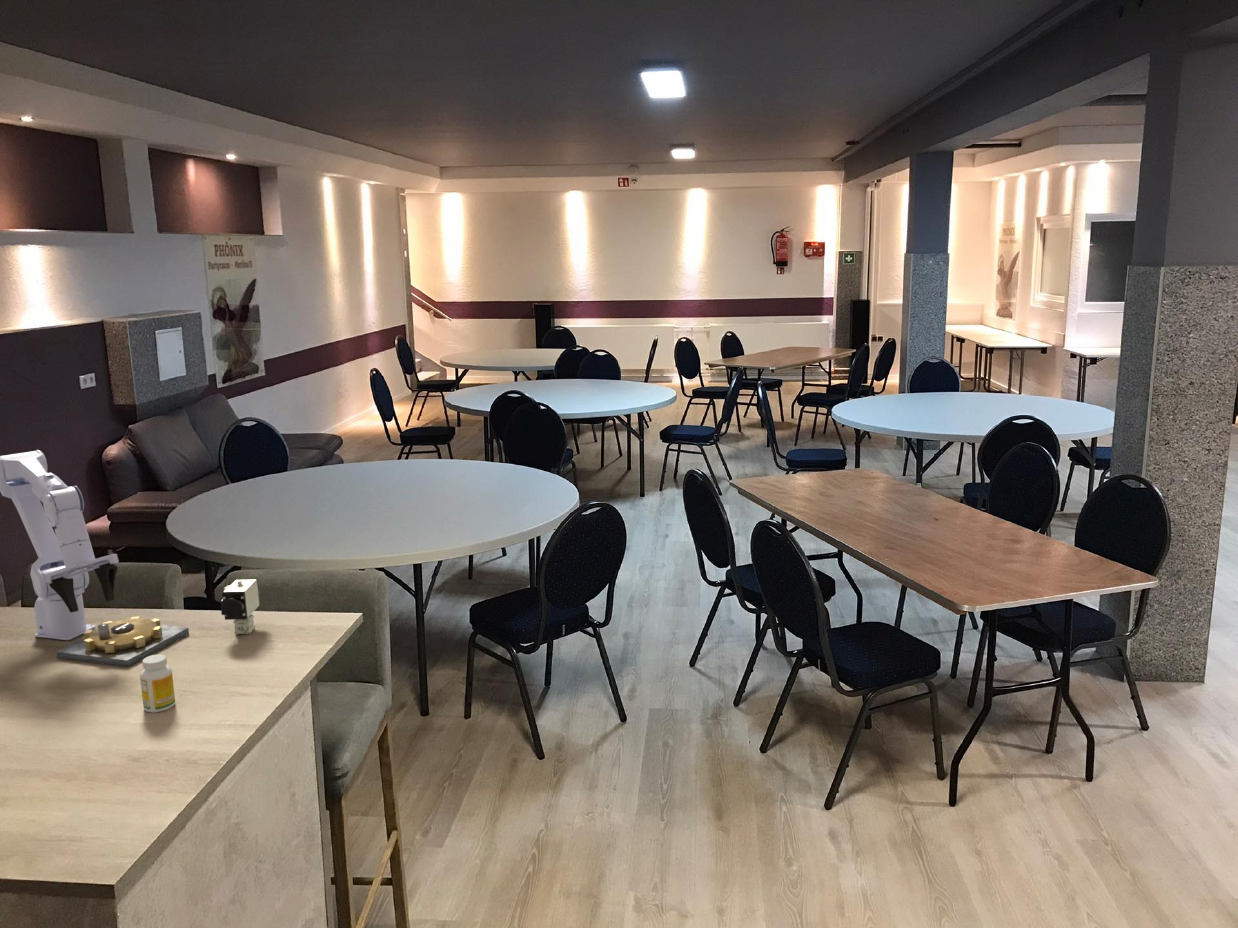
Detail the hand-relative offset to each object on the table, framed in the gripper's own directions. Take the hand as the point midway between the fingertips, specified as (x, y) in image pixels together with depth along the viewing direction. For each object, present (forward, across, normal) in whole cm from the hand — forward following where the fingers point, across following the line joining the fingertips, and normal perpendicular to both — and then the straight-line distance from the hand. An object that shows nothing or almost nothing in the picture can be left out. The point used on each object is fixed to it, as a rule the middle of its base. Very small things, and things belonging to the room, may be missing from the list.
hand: (92, 606), depth 202 cm
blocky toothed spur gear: (+8, +2, +6) cm, 10 cm away
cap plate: (+10, +1, +6) cm, 12 cm away
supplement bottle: (+23, +18, -23) cm, 37 cm away
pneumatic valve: (+15, +24, +12) cm, 30 cm away
